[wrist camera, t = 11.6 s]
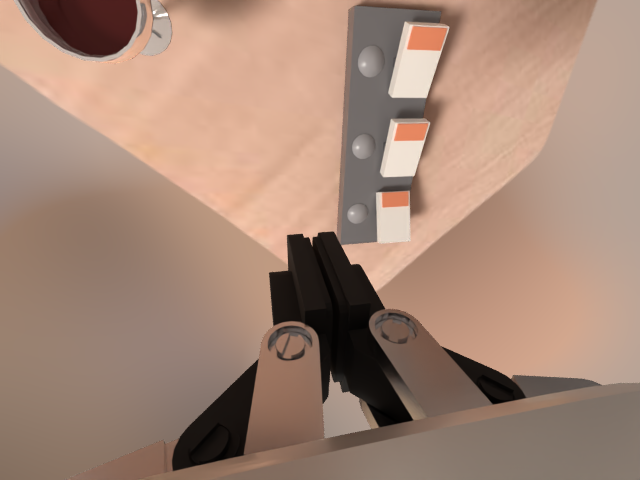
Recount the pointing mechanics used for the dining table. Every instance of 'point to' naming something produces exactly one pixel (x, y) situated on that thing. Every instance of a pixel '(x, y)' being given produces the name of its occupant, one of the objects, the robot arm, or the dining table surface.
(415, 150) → the rocker middle
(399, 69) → the rocker
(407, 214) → the block
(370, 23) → the strip
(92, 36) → the wineglass
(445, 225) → the dining table surface
